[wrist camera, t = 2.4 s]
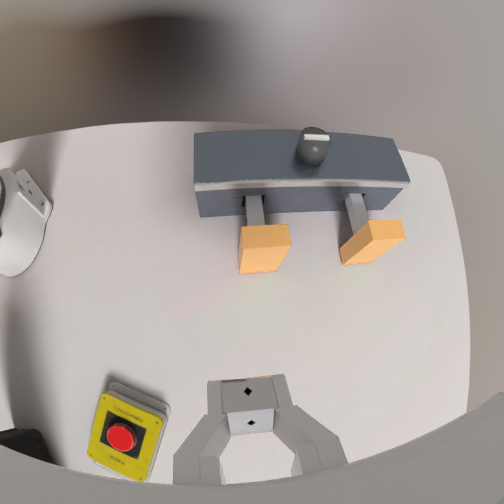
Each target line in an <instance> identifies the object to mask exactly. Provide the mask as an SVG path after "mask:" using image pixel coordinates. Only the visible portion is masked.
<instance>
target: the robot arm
mask: <svg viewBox="0 0 504 504" xmlns="http://www.w3.org/2000/svg"><path fill="white" fill-rule="evenodd" d="M51 211H52V204H51V203H50V201H49V200H48V199H47V198H46V196H45V195H44V194H43V192H42V191H41V190H40V188H39V187H38V186H37V184H36V183H35V181H34V180H33V179H32V177H31V176H30V175H29V173H28V172H27V171H26V170H25V169H22V170H19V171H17V172H15V173H13V172H12V171H11V170H10V169H9V168H4V169H1V170H0V274H2V275H4V276H7V277H12V276H16V275H18V274H20V273H22V272H23V271H24V270H25V269H26V268H27V267H28V266H29V265H30V264H31V263H32V261H33V260H34V258H35V257H36V255H37V253H38V251H39V249H40V246H41V243H42V240H43V236H44V230H45V225H46V221H47V219H48V217H49V215H50V213H51ZM207 396H208V415H204V416H203V417H202V419H201V420H200V421H199V423H198V424H197V425H196V427H195V428H194V429H193V431H192V432H191V433H190V435H189V436H188V437H187V439H186V440H185V441H184V442H183V444H182V445H181V446H180V448H179V449H178V450H177V451H176V453H175V454H174V459H173V484H157V483H146V482H137V481H129V480H121V479H115V478H109V477H103V476H98V475H93V474H89V473H84V472H80V471H76V470H72V469H68V468H64V467H61V466H57V465H54V464H50V463H47V462H44V461H41V460H38V459H35V458H32V457H29V456H27V455H24V454H21V453H19V452H16V451H14V450H11V449H9V448H7V447H5V446H2V445H0V504H504V393H503V392H500V393H497V394H495V395H494V396H492V397H491V398H489V399H488V400H486V401H485V402H483V403H482V404H480V405H478V406H477V407H475V408H473V409H472V410H470V411H469V412H467V413H465V414H463V415H462V416H460V417H458V418H456V419H455V420H453V421H451V422H449V423H447V424H445V425H443V426H441V427H439V428H437V429H435V430H433V431H431V432H429V433H427V434H425V435H423V436H421V437H419V438H416V439H414V440H412V441H409V442H407V443H405V444H402V445H400V446H397V447H395V448H392V449H390V450H387V451H384V452H382V453H379V454H376V455H373V456H370V457H367V458H364V459H361V460H358V461H355V462H351V463H348V462H347V459H346V456H345V453H344V451H343V448H342V445H341V442H340V440H339V437H338V436H337V435H335V434H334V433H332V432H331V431H330V430H328V429H327V428H326V427H324V426H323V425H322V424H320V423H319V422H318V421H316V420H315V419H314V418H312V417H311V416H310V415H309V414H307V413H306V412H305V411H303V410H302V409H301V408H300V407H298V406H297V405H295V406H293V404H292V400H291V396H290V393H289V389H288V386H287V382H286V379H285V376H284V374H279V375H271V376H270V375H269V376H261V377H253V378H246V379H235V380H216V381H208V383H207ZM271 431H273V433H274V434H275V435H276V436H277V437H278V438H279V439H280V440H281V441H282V442H283V443H284V444H285V445H286V446H287V447H288V448H289V449H290V450H291V451H292V452H293V453H295V454H296V455H295V458H294V462H293V465H292V468H291V474H292V477H286V478H280V479H274V480H266V481H258V482H248V483H237V484H226V479H225V476H224V473H223V470H222V467H221V464H220V460H219V457H220V456H221V454H222V452H223V450H224V449H225V447H226V445H227V443H228V442H229V440H230V438H231V436H233V435H243V434H251V433H262V432H271Z"/></svg>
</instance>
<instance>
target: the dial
mask: <svg viewBox="0 0 504 504" xmlns="http://www.w3.org/2000/svg"><path fill="white" fill-rule="evenodd" d="M331 143H332V141H331V138H330V136H329V135H328V134H327V133H326V132H325V131H324V130H322V129H319V128H316V127H308V128H305V129H303V130H302V132H301V134H300V137H299V140H298V143H297V146H296V154H297V156H298V158H299V159H300V160H301V161H303V162H304V163H307V164H310V165H318V164H320V163H322V162H323V161H324V159H325V157H326V155H327V153H328V150H329V148H330V146H331Z"/></svg>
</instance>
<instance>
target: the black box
mask: <svg viewBox="0 0 504 504" xmlns="http://www.w3.org/2000/svg"><path fill="white" fill-rule="evenodd" d="M0 445H2V446H5V447H7V448H9V449H11V450H14V451H16V452H19V453H21V454H24V455H27V456H29V457H32V458H35V459H38V460H41V461H44V462H47V463H50V464H53V462H52V460H51V458H50V456H49V454H48V451H47V449H46V447H45V444H44V442H43V439H42V437H41V435H40V433H39V432H38V431H37V430H35V429H30V430H17V429H16V428H13V429H9V430H5V431H1V432H0Z"/></svg>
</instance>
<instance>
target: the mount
mask: <svg viewBox="0 0 504 504" xmlns="http://www.w3.org/2000/svg"><path fill="white" fill-rule="evenodd" d="M301 132H302V131H286V130H252V131H222V132H205V133H194V189H195V192H196V197H197V203H198V209H199V214H200V217H214V216H229V215H245V214H246V205H245V196H255V195H261V198H262V205H263V213H284V212H309V211H342V210H347V207H346V203H345V197H346V196H347V194H348V193H361V194H362V198H363V201H364V205H365V208H366V210H383V209H384V208H385V207H386V206H387V205H388V204H389V203H390V202H391V201H392V200H393V199H394V198H395V197H396V196H397V194H398V193H399V192H400V191H401V190H402V189H403V188H407V187H408V186H409V185H410V179H409V176H408V173H407V171H406V168H405V166H404V163H403V161H402V159H401V156H400V154H399V152H398V149H397V147H396V145H395V143H394V140H393V139H391V138H384V137H375V136H367V135H357V134H346V133H332V132H331V133H330V132H326V133H327V134H328V135H329V136H330V138H331V141H332V143H331V146H330V148H329V150H328V153H327V155H326V157H325V159H324V161H323V162H322V163H320V164H318V165H310V164H307V163H304V162H303V161H301V160H300V159H299V158H298V156H297V154H296V146H297V143H298V140H299V137H300V134H301Z"/></svg>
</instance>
